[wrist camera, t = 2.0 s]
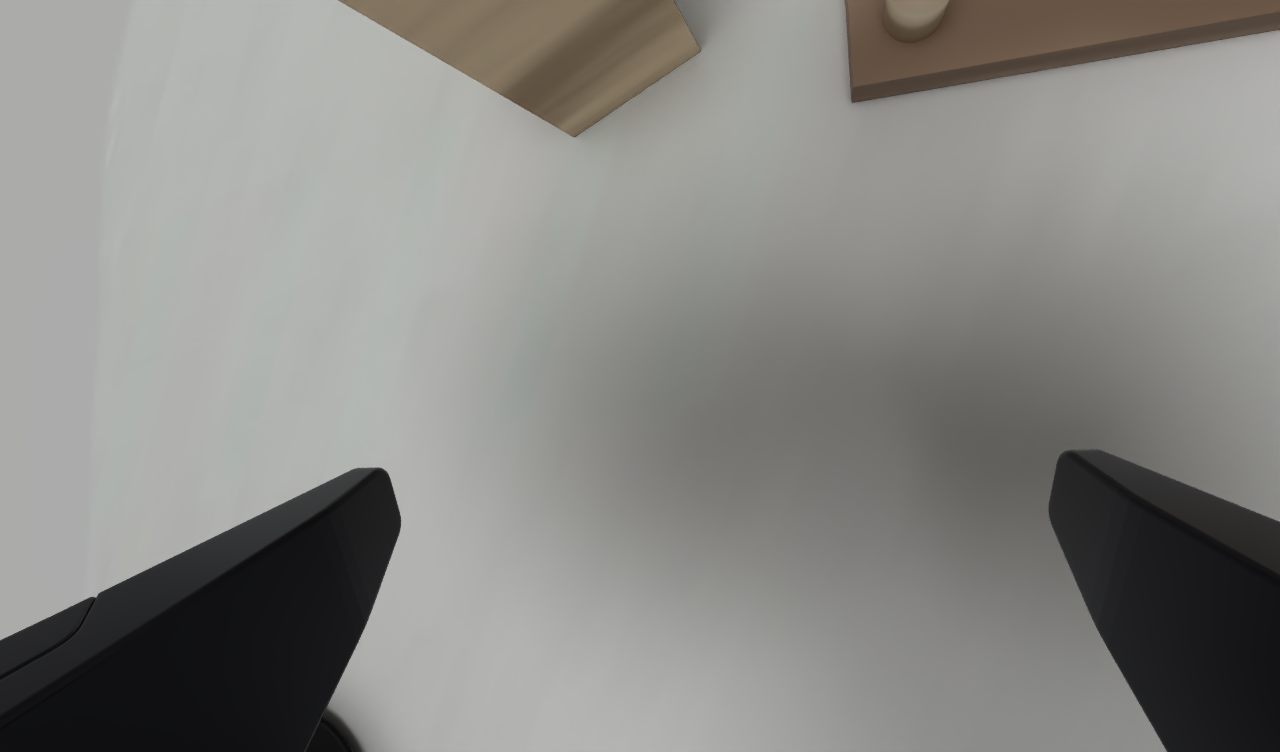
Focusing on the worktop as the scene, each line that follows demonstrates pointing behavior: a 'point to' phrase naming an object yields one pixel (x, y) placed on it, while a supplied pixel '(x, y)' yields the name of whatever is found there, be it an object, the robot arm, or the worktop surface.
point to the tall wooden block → (547, 48)
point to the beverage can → (327, 739)
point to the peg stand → (1024, 36)
